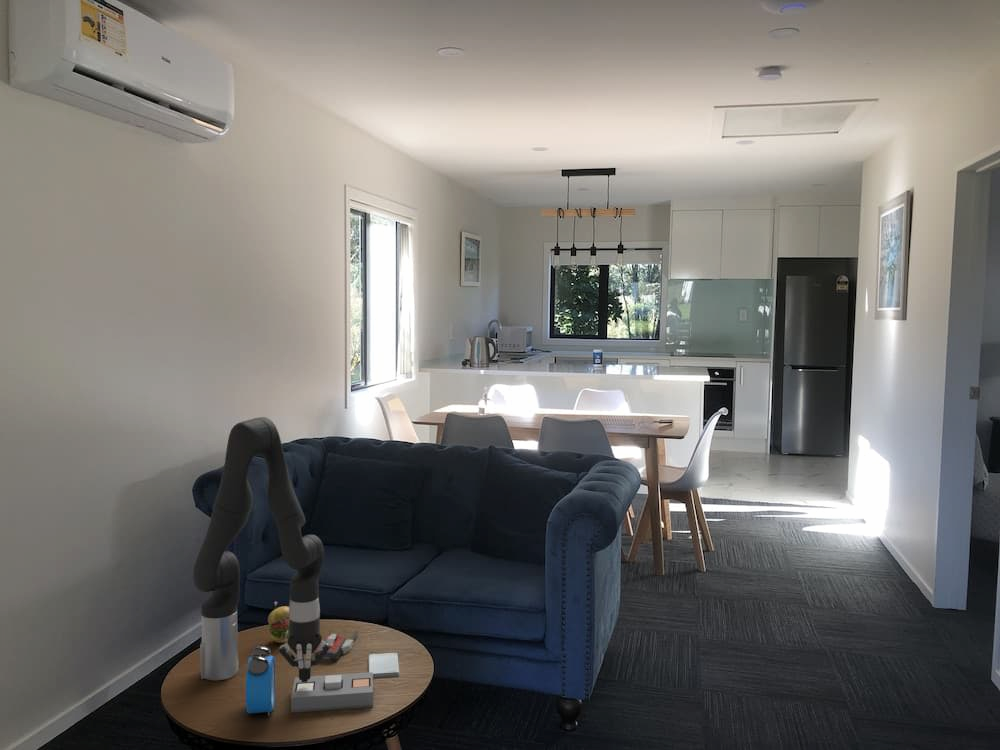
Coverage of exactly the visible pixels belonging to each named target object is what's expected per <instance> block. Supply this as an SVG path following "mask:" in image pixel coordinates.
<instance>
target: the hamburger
mask: <svg viewBox="0 0 1000 750" xmlns="http://www.w3.org/2000/svg"><path fill="white" fill-rule="evenodd" d="M277 604H278V601H274V605H275V608H274V610H272V611H271V612H270V613H269V615H268V617H267V622H268V624H269V625H268V627H269V633H270V635H269V636H270V638H271V639H272V640H273V642H275V643H277V644H281V645H282V644H283V645H284V644H285V643H287V640H288V638H289V605H288V606H287V605H285V606H279V607H277Z"/></svg>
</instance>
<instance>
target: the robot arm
mask: <svg viewBox="0 0 1000 750" xmlns="http://www.w3.org/2000/svg"><path fill="white" fill-rule="evenodd" d="M259 455H262V457H263V459H264V462H265V464H266V467H267V468H266V469H267V475H268V476H267V477H268V482H267V501H268V502H267V503H268V506H269V507H268V508H269V509H270V513H271V515H272V517H273V519H274V522H275V524H276V526H277V529H278V536H279V538H278V539H279V542H280V550H281V554H282V557H283V559H284V562H285V563H286V564H287V565H288V567H290V568H291V569H293V570H296V572H295V573H294V575H292V577H291V579H290V582H289V605H288V607H289V618H288V619H289V638H288V640H287V643H284V644H282V643H281V644H280V646H279V649H278V652H279V653H280V654H281V656H282V657H283V658H284V659H285V661H287V662H288V664H289V665H290V666H291V667H293V668H294V667H296V668H297V669H298V677H299V680H302V682H308V680H309V679H310V676H312V674H311V670H312V667H313V666H318V664H319V663H320V662H321V661H320V660H321V659H322V658H323V656H324V655H325V654H326V653H327V651H328V650H329V646H330V644H329V642H324V641H323V640H324V639H323V637H322V635H321V624H320V623H321V620H320V618H321V614H320V613H321V609H320V608H321V607H320V600H319V599H320V598H319V595H320V594H319V592H320V590H319V588H320V587H319V579H320V576H321V571H322V568H323V562H324V556H325V549H324V543H323V542H322V540H321V539H320V537H318V536H317V535H315V534H307V535H304V536H303V535H302V530H301V529H302V527H303V526H304V525H305V524H306V517H305V514H304V512H303V509H302V506H301V504H300V502H299V499H298V497H297V495H296V492H295V489H294V486H293V484H292V481H291V476H290V474H289V473H290V472H289V468H288V465H287V461H286V456H285V452H284V449H283V445H282V440H281V436H280V433H279V430H278V428H277V426H276V424H275V423H274V421H272V420H271V419H270V418H269V417H266V416H259V417H255V418H252V419H247V420H243V421H240V422H238V423H236V424H235V425H234V426H233V427H232V428H231V430H230V432H229V434H228V439H227V445H226V451H225V459H224V466H223V469H222V470H223V471H222V474H221V479H220V482H219V487H218V490H217V493H216V497H215V499H214V500H215V501H214V503H213V507H212V512H211V516H210V521H209V524H208V527H207V530H206V533H205V536H204V537H205V538H204V539H203V542H202V545H201V547H200V550H199V552H198V554H197V556H196V560H195V563H194V565H193V571H192V579H193V583H194V586H195V588H196V589H197V590H198V591H199V592H202V593H210V592H212V593H211V595H209V596H208V597H207V598H205V600H204V601H203V602H202V603H201V606H200V614H201V615H200V616H201V619H200V620H201V642H200V645H199V647H200V648H199V650H200V657H199V658H200V679H201V680H204V679H205V680H208V681H222V680H227V679H230V678H232V677H234V676H236V675H237V674H238V673H239V640H238V639H239V638H238V637H239V635H238V634H239V633H238V632H239V631H238V630H239V629H238V603H239V601H240V586H241V585H240V584H241V580H240V579H241V574H240V573H241V570H240V563H239V560H238V558H237V555H235V553H233V552H231V551H227V548H228V546H229V545H231V543H232V542H233V541H234V540H235V539H236V538H237V536H238V535H239V533H241V531H242V530H243V528H244V527H245V526H246V525H247V522H248V520H249V517H250V513H251V510H252V506H253V502H254V495H253V491H252V487H251V485H250V483H249V480H248V472H249V469H250V466H251V463H252V460H253V459H254V458H255V457H256V456H259ZM319 646H320V651H319V652H318V653H317V654H316V656H315V657H312V655H313V654H314V652H315V651H316V650H317V648H318V647H319ZM290 650H291V651H292V652H294V654H296V655H297V657H296V656H295V655H294V654H293V653H292V652H291V651H290ZM304 656H305V657H304Z"/></svg>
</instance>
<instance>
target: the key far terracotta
mask: <svg viewBox="0 0 1000 750" xmlns="http://www.w3.org/2000/svg"><path fill="white" fill-rule="evenodd" d="M354 687H369V679H360V680H353V688H354Z"/></svg>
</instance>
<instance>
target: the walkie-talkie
mask: <svg viewBox="0 0 1000 750" xmlns="http://www.w3.org/2000/svg"><path fill="white" fill-rule="evenodd" d="M358 634H359V631H358V630H355V631H354V633H353V634H352V636H351V637H350V638H349V639H347V637H346V636H340V635H339V634H338V633H330V634H329V635H327V636H324V638H323V639H322V640H323V641H324V642H329V644H330V646H329V650H328V651H327V653H326V654H325V655H324V656H323V658H322V659H321V660H320V661H319V662H326V661H335V662H337V661H338V659H339V658H340V656H341V655H344V654H346V652H347V653H349V652H351V650H352V648H353V647H354V646H353V645H354V640H355V639H356V637H357V635H358ZM350 649H351V650H350ZM319 651H320V645H319V646H318V647H317V649H316V650H315V651H314V653H313V655H314V657H315V656H316V654H317V653H318V652H319ZM348 651H349V652H348ZM343 653H344V654H343ZM314 657H313V658H314Z"/></svg>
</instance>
